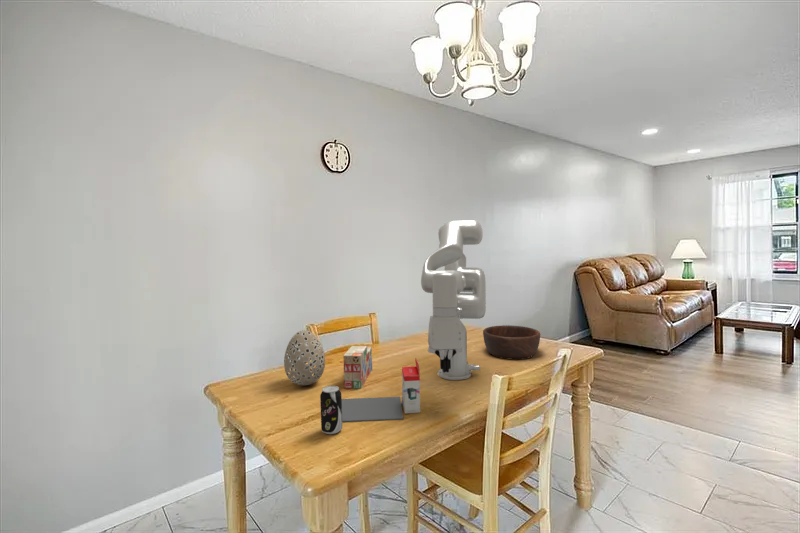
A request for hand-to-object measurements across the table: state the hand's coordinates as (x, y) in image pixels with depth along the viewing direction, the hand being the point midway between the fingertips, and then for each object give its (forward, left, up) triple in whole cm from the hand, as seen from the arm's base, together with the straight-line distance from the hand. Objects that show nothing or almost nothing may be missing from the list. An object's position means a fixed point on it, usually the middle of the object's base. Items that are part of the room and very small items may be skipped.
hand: (445, 371), depth 122 cm
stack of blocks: (+28, -29, -12) cm, 42 cm away
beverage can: (+34, +12, -12) cm, 38 cm away
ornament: (+48, -25, -12) cm, 55 cm away
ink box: (+11, -1, -12) cm, 16 cm away
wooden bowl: (-39, -55, -12) cm, 68 cm away
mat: (+24, -1, -11) cm, 26 cm away
